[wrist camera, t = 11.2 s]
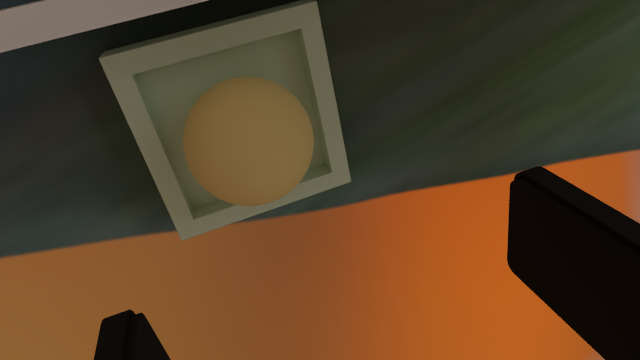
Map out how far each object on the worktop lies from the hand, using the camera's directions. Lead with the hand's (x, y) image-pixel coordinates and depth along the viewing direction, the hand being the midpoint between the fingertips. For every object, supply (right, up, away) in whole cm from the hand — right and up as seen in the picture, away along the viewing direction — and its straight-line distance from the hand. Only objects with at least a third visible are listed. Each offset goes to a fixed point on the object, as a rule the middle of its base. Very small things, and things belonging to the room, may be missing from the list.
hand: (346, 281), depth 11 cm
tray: (-5, +6, +13) cm, 15 cm away
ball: (-4, +4, +10) cm, 11 cm away
